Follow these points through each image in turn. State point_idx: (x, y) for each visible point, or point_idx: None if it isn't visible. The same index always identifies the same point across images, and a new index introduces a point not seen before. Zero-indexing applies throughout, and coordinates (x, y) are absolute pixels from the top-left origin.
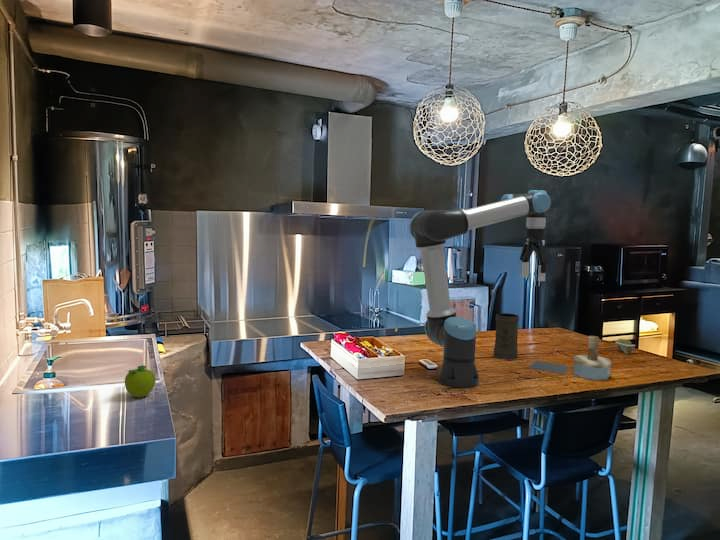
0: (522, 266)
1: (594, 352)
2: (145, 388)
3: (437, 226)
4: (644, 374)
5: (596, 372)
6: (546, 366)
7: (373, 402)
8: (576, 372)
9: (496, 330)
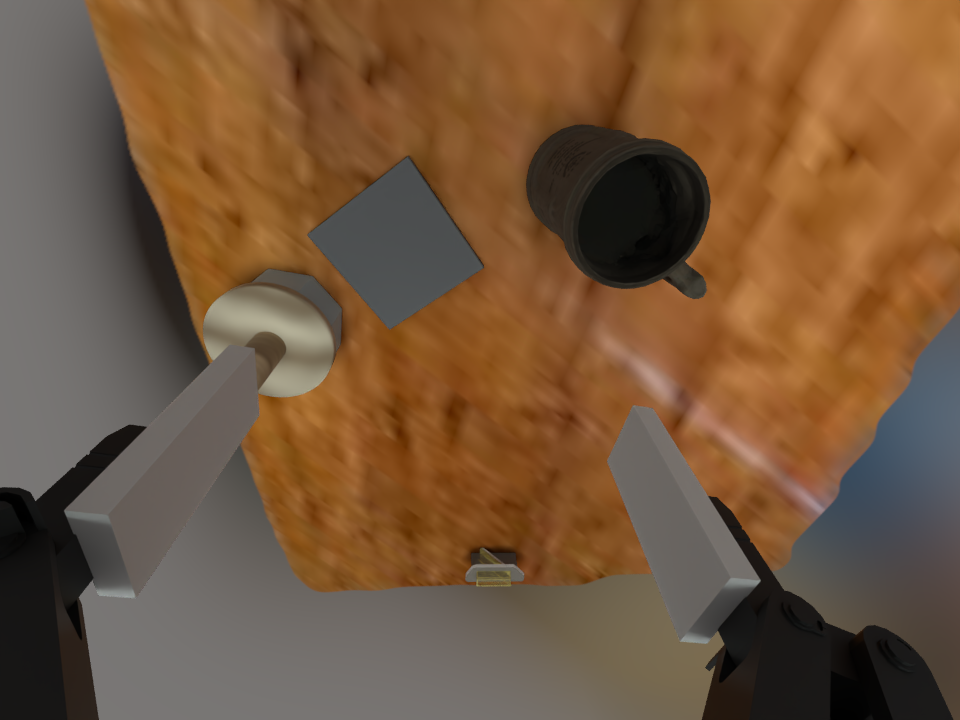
0: (713, 514)
1: None
2: None
3: None
4: (301, 463)
5: None
6: (405, 245)
7: None
8: (291, 278)
9: (625, 132)
